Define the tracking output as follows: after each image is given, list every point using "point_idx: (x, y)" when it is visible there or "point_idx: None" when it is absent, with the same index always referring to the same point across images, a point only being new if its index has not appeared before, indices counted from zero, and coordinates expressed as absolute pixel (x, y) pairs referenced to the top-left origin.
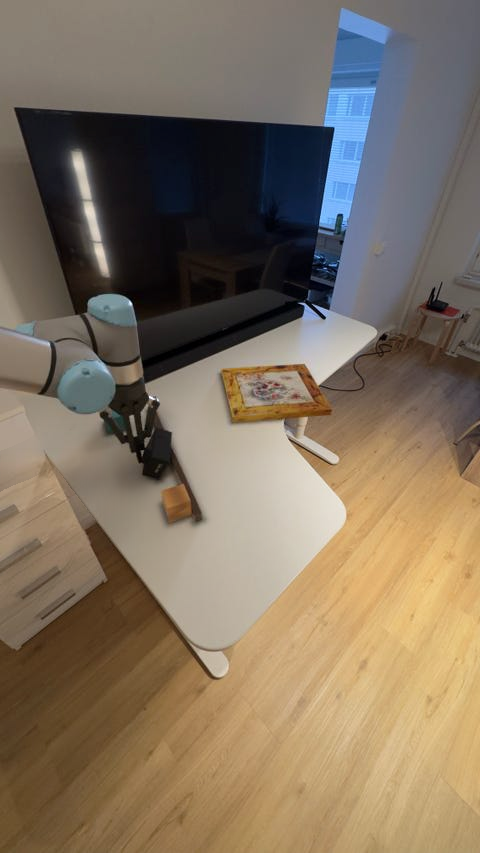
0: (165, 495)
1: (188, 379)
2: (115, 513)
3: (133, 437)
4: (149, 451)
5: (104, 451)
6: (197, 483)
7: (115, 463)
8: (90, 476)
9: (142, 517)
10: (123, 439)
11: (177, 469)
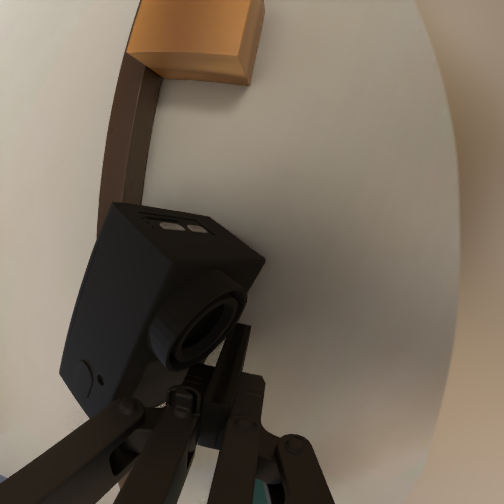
0: (231, 20)
1: None
2: (418, 160)
3: (221, 447)
4: (171, 313)
5: (320, 438)
6: (96, 124)
7: (317, 383)
8: (408, 368)
9: (343, 81)
10: (289, 461)
11: (116, 195)
